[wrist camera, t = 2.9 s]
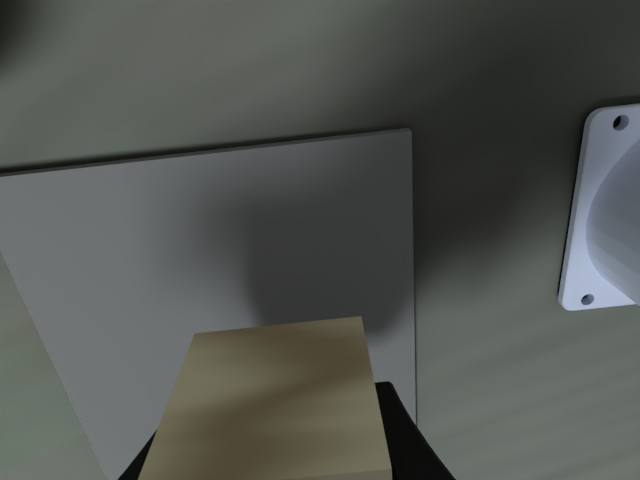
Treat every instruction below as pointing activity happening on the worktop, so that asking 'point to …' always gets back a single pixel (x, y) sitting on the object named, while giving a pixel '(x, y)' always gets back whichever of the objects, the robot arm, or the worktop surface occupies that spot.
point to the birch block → (273, 407)
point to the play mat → (208, 264)
